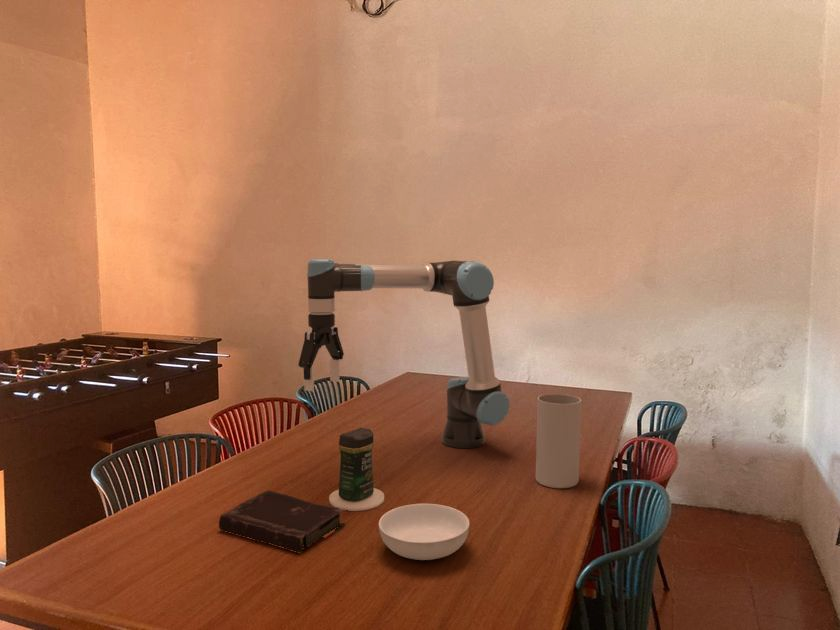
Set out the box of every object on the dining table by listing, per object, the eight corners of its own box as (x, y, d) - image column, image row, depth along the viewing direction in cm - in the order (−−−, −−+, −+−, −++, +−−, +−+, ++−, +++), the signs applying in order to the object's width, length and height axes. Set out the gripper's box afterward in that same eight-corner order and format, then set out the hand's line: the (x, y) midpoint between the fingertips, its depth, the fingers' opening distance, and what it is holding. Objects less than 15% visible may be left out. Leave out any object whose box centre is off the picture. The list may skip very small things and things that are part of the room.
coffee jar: (356, 505, 176) (356, 437, 174) (334, 498, 181) (333, 432, 179) (378, 493, 184) (378, 428, 182) (356, 487, 189) (356, 423, 187)
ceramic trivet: (385, 489, 190) (385, 486, 190) (382, 511, 175) (382, 507, 175) (332, 489, 190) (332, 486, 190) (325, 510, 175) (325, 507, 175)
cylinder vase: (580, 476, 201) (583, 395, 198) (576, 491, 189) (578, 405, 186) (539, 472, 205) (541, 392, 202) (532, 486, 193) (534, 402, 190)
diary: (300, 558, 151) (299, 537, 150) (218, 534, 163) (218, 515, 162) (347, 525, 167) (346, 506, 167) (269, 506, 179) (269, 488, 178)
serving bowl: (377, 531, 163) (377, 504, 163) (462, 528, 165) (462, 502, 164) (379, 573, 143) (379, 543, 142) (476, 570, 144) (476, 539, 144)
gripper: (333, 308, 203) (334, 376, 206) (284, 316, 181) (286, 393, 183) (354, 309, 200) (355, 378, 203) (307, 318, 178) (308, 396, 180)
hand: (322, 385), depth 193 cm, fingers open, 13 cm apart
